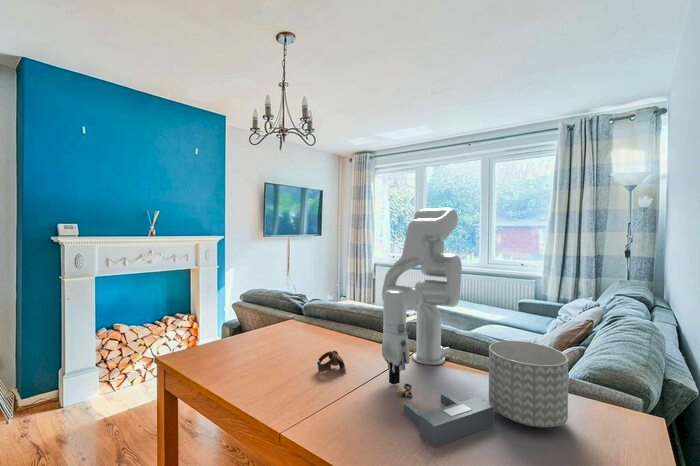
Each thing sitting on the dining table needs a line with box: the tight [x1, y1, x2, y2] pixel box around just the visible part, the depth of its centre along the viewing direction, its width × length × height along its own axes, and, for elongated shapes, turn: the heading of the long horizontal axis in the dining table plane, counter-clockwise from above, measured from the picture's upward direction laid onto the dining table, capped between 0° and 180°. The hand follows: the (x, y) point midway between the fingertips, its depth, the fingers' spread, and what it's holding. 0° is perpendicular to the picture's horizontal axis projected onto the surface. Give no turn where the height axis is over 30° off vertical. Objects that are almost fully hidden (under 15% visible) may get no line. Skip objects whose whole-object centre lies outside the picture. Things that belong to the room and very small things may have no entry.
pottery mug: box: [316, 349, 347, 375], centre depth 122 cm, size 12×10×8 cm
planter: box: [488, 340, 569, 428], centre depth 91 cm, size 19×19×18 cm
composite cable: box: [395, 383, 413, 400], centre depth 105 cm, size 10×5×2 cm, turn 152°
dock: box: [403, 392, 495, 448], centre depth 90 cm, size 20×16×5 cm
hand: (394, 382), depth 111 cm, fingers closed
